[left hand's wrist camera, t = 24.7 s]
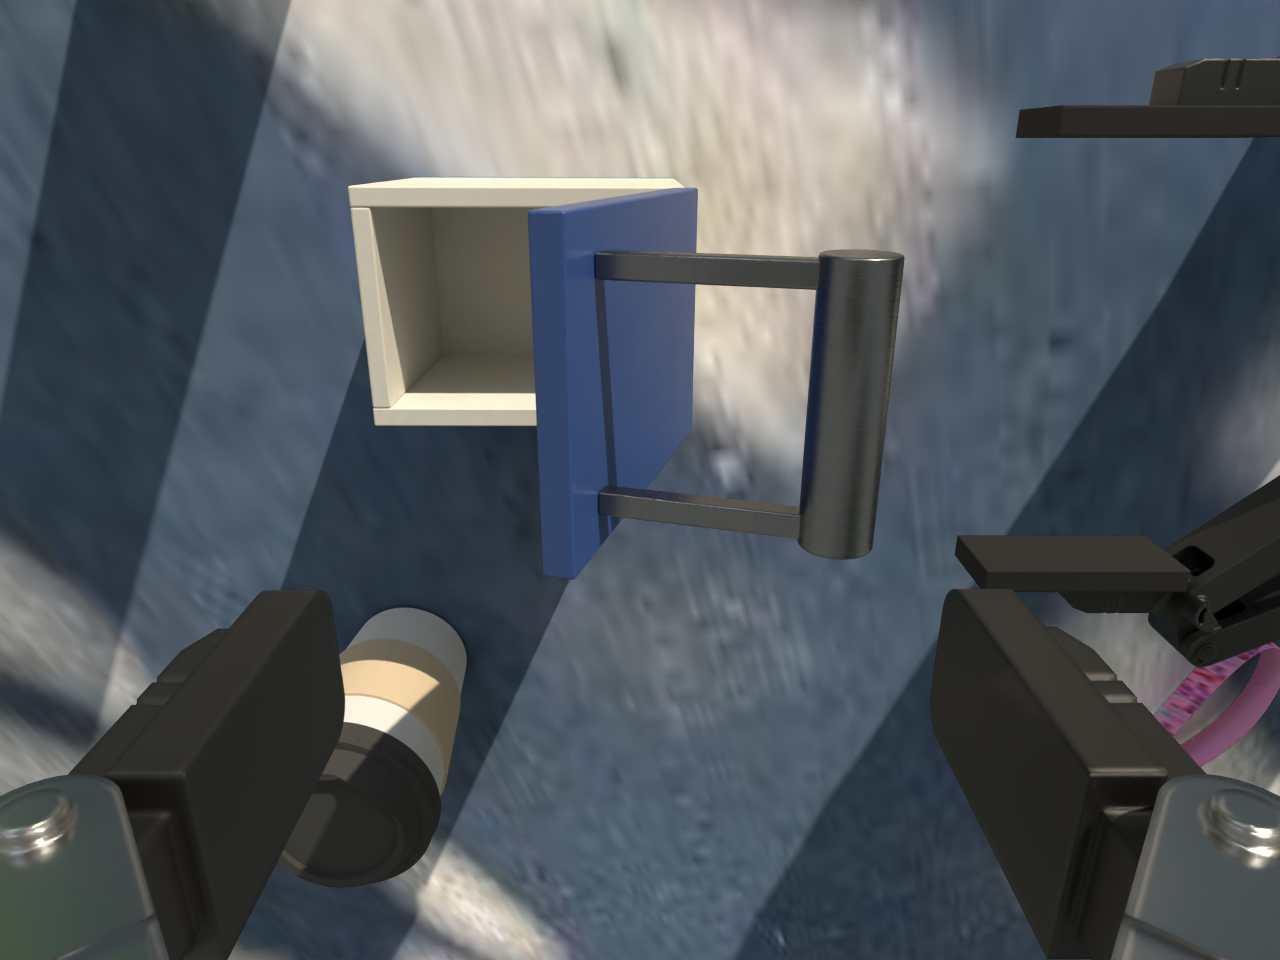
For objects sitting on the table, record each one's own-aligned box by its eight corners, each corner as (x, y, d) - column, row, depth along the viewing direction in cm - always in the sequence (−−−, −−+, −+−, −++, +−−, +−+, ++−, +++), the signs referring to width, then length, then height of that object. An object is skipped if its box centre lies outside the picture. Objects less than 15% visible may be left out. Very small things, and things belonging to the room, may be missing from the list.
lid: (541, 576, 23) (864, 623, 21) (526, 209, 20) (909, 218, 18) (669, 429, 36) (882, 449, 33) (673, 187, 32) (910, 191, 30)
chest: (433, 364, 46) (374, 426, 36) (417, 177, 43) (347, 185, 33) (671, 365, 46) (680, 426, 36) (674, 177, 43) (685, 186, 33)
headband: (1169, 772, 56) (1189, 796, 54) (1121, 748, 55) (1138, 771, 53) (1288, 646, 52) (1314, 666, 50) (1237, 618, 52) (1261, 638, 50)
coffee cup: (420, 741, 55) (346, 943, 41) (307, 656, 53) (186, 839, 39) (515, 655, 53) (469, 838, 39) (400, 562, 50) (308, 721, 36)
